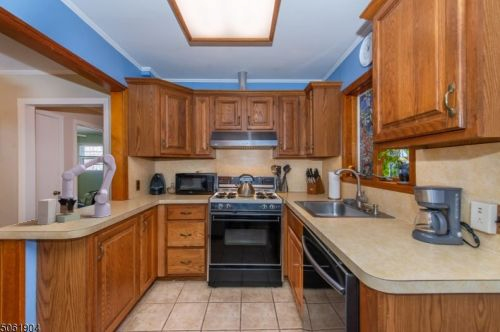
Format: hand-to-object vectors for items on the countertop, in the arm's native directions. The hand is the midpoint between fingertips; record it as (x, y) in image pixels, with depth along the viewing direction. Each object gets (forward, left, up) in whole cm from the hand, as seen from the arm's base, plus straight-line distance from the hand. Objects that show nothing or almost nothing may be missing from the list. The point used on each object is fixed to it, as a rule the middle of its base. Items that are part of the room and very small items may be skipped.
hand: (67, 210), depth 158 cm
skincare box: (+10, -3, -7) cm, 12 cm away
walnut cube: (0, 0, -2) cm, 2 cm away
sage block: (0, 0, -7) cm, 7 cm away
